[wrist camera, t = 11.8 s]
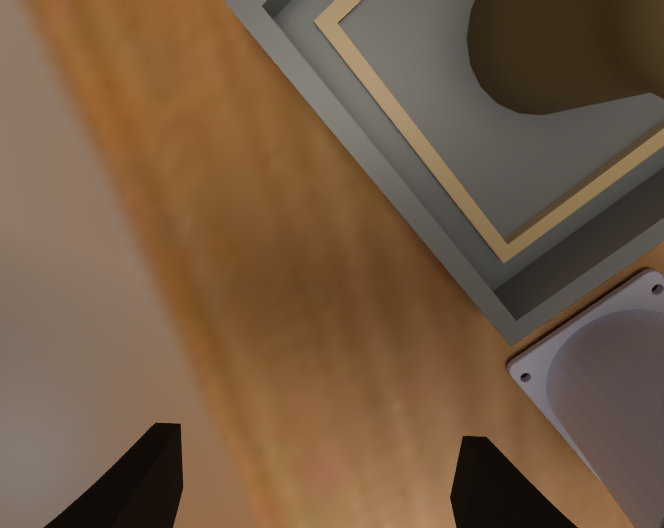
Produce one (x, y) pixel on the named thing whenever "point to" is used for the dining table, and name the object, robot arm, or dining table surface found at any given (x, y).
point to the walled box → (475, 152)
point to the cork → (566, 51)
